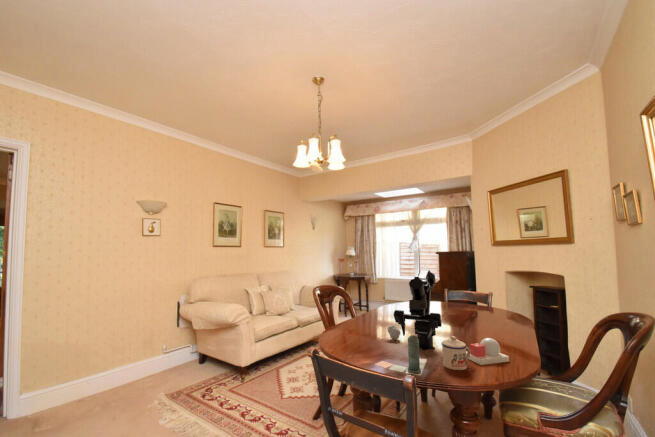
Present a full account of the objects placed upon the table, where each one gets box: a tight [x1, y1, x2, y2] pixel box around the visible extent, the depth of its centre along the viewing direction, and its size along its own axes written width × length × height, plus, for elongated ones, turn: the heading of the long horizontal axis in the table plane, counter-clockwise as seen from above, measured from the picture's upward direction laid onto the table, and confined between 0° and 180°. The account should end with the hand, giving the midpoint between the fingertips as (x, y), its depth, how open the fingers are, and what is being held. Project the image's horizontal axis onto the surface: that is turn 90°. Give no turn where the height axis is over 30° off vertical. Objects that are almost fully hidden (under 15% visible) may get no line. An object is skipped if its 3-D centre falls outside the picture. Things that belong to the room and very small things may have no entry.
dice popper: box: [466, 337, 510, 366], centre depth 127 cm, size 14×10×8 cm
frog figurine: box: [386, 324, 401, 341], centre depth 155 cm, size 6×7×7 cm
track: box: [374, 357, 428, 377], centre depth 117 cm, size 23×17×1 cm
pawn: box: [407, 334, 422, 375], centre depth 113 cm, size 5×5×13 cm
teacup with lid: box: [441, 335, 470, 371], centre depth 119 cm, size 12×9×12 cm
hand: (415, 336), depth 118 cm, fingers open, 9 cm apart
